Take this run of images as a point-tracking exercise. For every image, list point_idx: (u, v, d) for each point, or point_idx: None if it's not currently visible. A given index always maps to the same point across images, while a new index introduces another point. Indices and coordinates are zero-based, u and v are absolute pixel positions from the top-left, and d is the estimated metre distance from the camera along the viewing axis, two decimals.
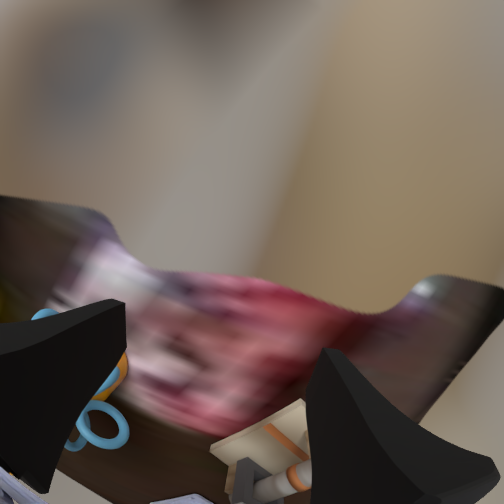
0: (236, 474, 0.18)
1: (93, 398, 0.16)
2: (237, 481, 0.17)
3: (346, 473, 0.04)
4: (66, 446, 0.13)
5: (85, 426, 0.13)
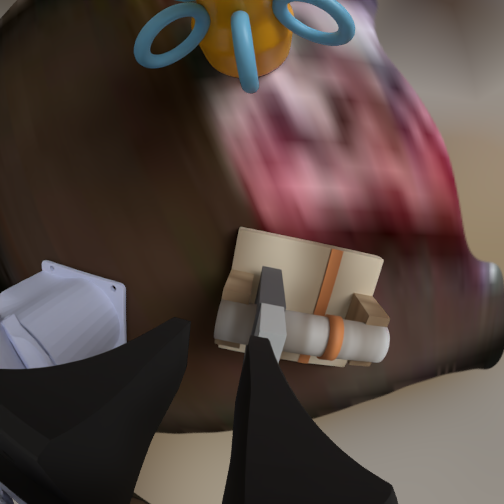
0: (264, 276, 0.16)
1: (251, 35, 0.11)
2: (267, 283, 0.15)
3: (235, 465, 0.04)
4: (153, 26, 0.08)
5: (249, 22, 0.08)
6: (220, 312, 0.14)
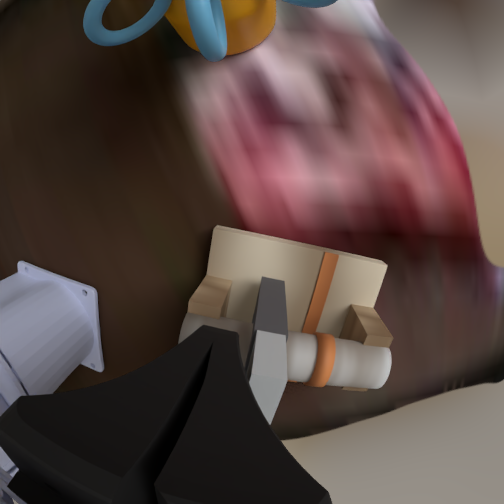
0: (262, 290, 0.13)
1: (221, 0, 0.08)
2: (266, 300, 0.12)
3: None
4: None
5: None
6: (184, 328, 0.12)
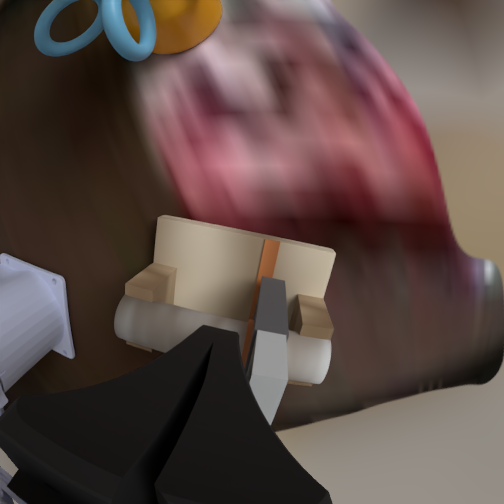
0: (263, 290, 0.13)
1: (152, 4, 0.08)
2: (267, 300, 0.12)
3: None
4: (44, 16, 0.05)
5: None
6: (119, 309, 0.12)
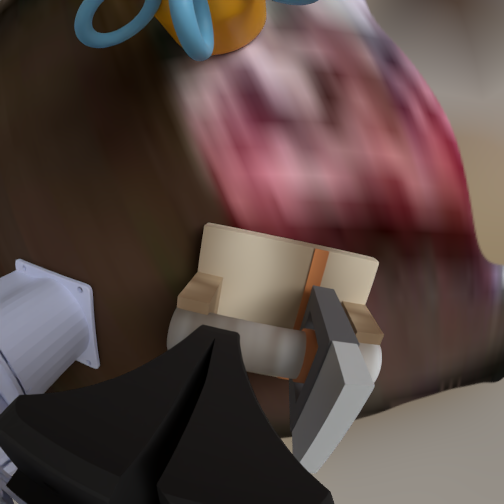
0: (320, 300, 0.13)
1: (208, 1, 0.08)
2: (327, 310, 0.12)
3: None
4: (89, 0, 0.05)
5: None
6: (173, 323, 0.12)
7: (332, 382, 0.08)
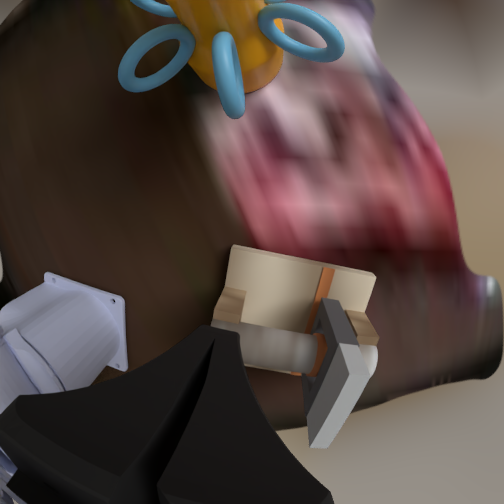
0: (328, 310, 0.16)
1: (238, 54, 0.11)
2: (334, 318, 0.15)
3: None
4: (134, 53, 0.08)
5: (231, 45, 0.09)
6: None
7: (339, 373, 0.11)
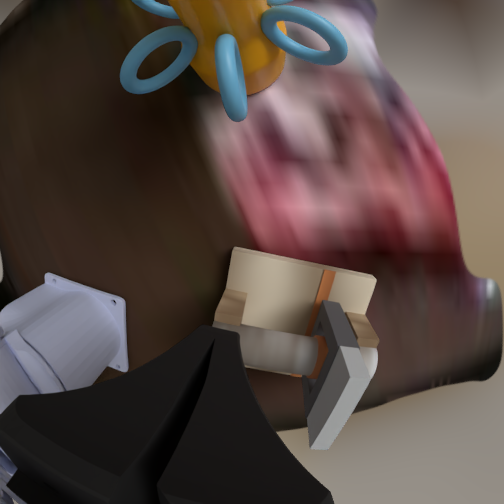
0: (329, 312, 0.16)
1: (240, 56, 0.11)
2: (335, 321, 0.15)
3: None
4: (136, 54, 0.08)
5: (234, 48, 0.09)
6: None
7: (340, 376, 0.11)
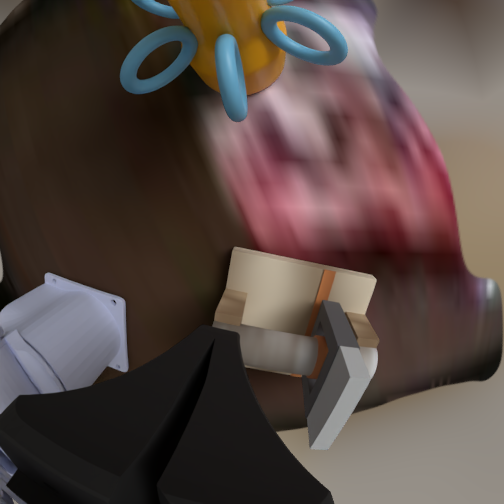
0: (329, 312, 0.16)
1: (240, 56, 0.11)
2: (335, 321, 0.15)
3: None
4: (136, 54, 0.08)
5: (234, 48, 0.09)
6: None
7: (340, 376, 0.11)
